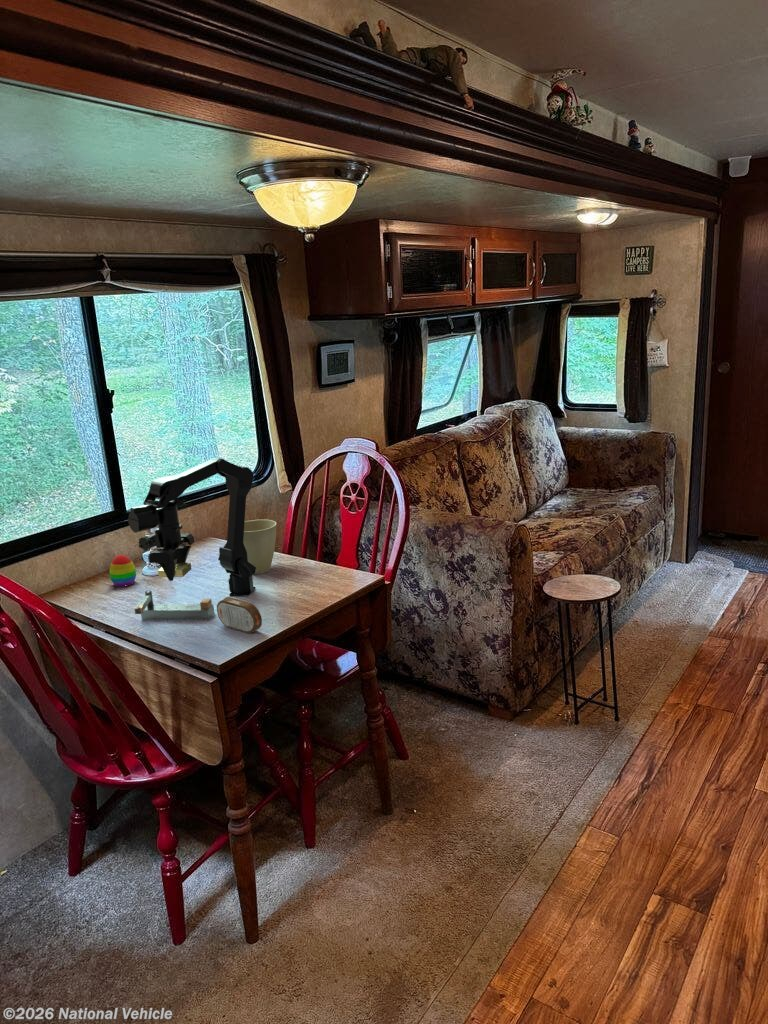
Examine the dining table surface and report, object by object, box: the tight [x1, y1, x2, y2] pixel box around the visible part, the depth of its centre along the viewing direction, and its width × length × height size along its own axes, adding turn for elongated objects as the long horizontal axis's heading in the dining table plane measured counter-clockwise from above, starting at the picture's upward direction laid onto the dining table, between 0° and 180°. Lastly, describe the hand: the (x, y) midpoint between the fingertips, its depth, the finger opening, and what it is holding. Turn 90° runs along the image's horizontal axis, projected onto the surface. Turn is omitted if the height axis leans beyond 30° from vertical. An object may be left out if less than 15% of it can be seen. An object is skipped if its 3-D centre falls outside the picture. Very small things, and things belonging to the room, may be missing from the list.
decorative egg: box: [108, 554, 137, 587], centre depth 231 cm, size 8×8×10 cm
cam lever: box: [134, 590, 154, 615], centre depth 197 cm, size 12×2×5 cm, turn 3°
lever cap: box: [157, 562, 192, 578], centre depth 200 cm, size 7×6×2 cm
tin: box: [216, 596, 263, 634], centre depth 191 cm, size 15×3×8 cm, turn 55°
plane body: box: [140, 598, 215, 621], centre depth 202 cm, size 20×4×5 cm, turn 83°
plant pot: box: [243, 519, 278, 575], centre depth 236 cm, size 15×15×16 cm
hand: (175, 576), depth 200 cm, fingers closed on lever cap, 6 cm apart
